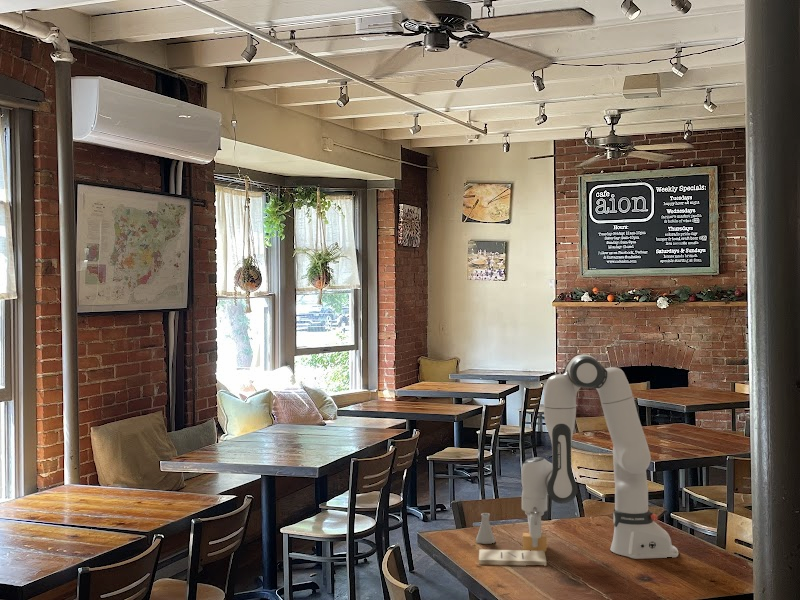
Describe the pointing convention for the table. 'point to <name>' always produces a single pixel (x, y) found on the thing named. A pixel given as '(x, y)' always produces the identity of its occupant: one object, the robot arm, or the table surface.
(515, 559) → the birch board
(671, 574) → the table surface
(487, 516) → the flask
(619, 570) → the table surface
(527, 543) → the block
